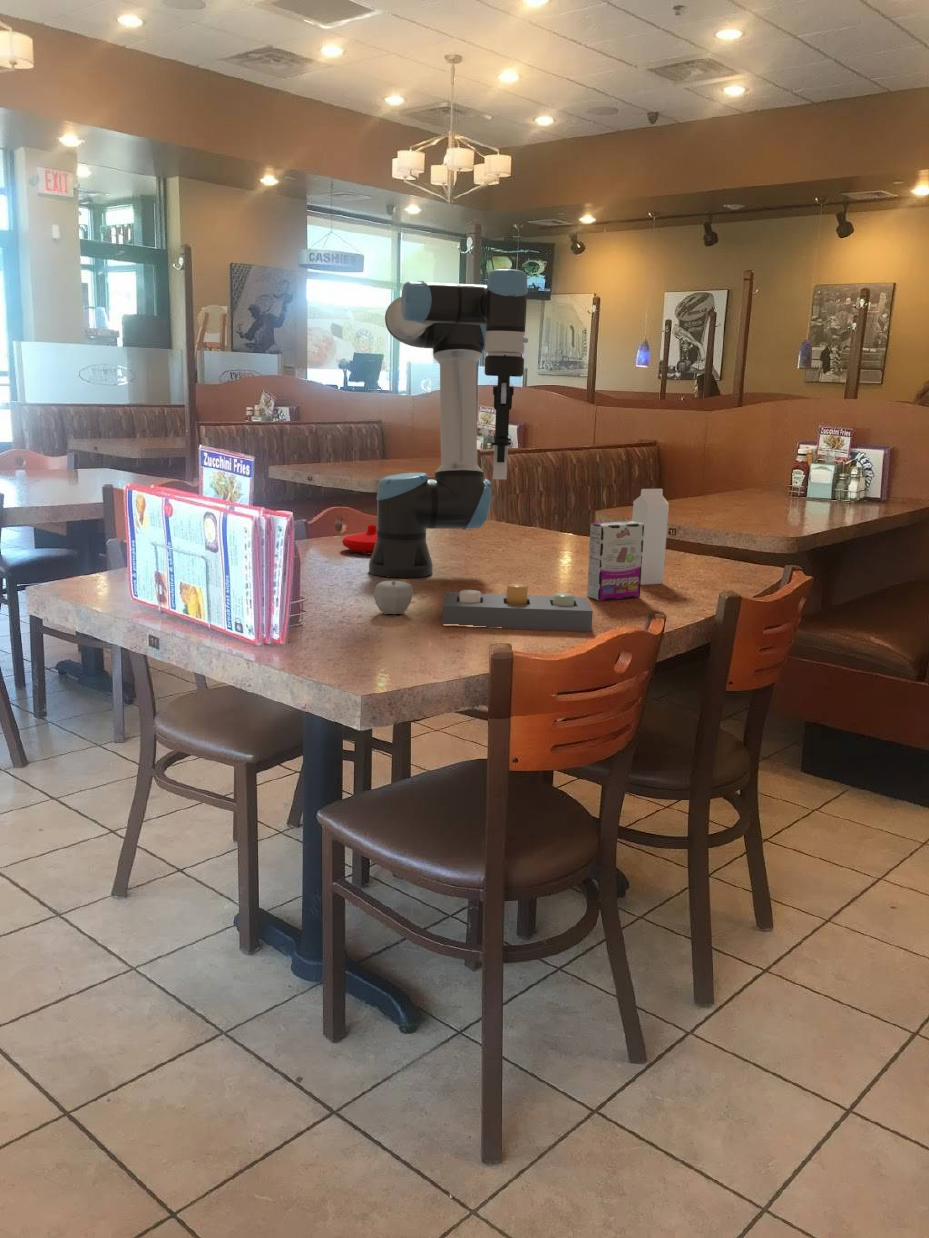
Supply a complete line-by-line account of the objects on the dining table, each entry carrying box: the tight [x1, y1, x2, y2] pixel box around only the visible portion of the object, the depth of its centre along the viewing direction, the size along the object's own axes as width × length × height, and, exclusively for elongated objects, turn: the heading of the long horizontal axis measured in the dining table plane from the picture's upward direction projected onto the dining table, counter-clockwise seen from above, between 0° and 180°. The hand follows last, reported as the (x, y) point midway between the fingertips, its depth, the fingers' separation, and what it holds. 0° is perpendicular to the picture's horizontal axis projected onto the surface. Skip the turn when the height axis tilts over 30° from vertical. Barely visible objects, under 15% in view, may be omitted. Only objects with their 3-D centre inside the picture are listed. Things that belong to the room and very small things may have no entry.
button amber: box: [506, 583, 529, 605], centre depth 192 cm, size 4×4×4 cm
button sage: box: [552, 592, 575, 606], centre depth 192 cm, size 4×4×4 cm
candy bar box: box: [586, 520, 644, 602], centre depth 216 cm, size 11×5×16 cm, turn 117°
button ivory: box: [459, 589, 482, 603], centre depth 193 cm, size 4×4×4 cm
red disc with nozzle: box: [341, 524, 377, 554], centre depth 265 cm, size 16×16×7 cm
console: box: [441, 592, 594, 633], centre depth 193 cm, size 28×12×4 cm, turn 89°
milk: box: [631, 488, 670, 586], centre depth 234 cm, size 6×6×22 cm
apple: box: [373, 580, 414, 615], centre depth 196 cm, size 8×8×7 cm
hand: (499, 478), depth 197 cm, fingers closed
